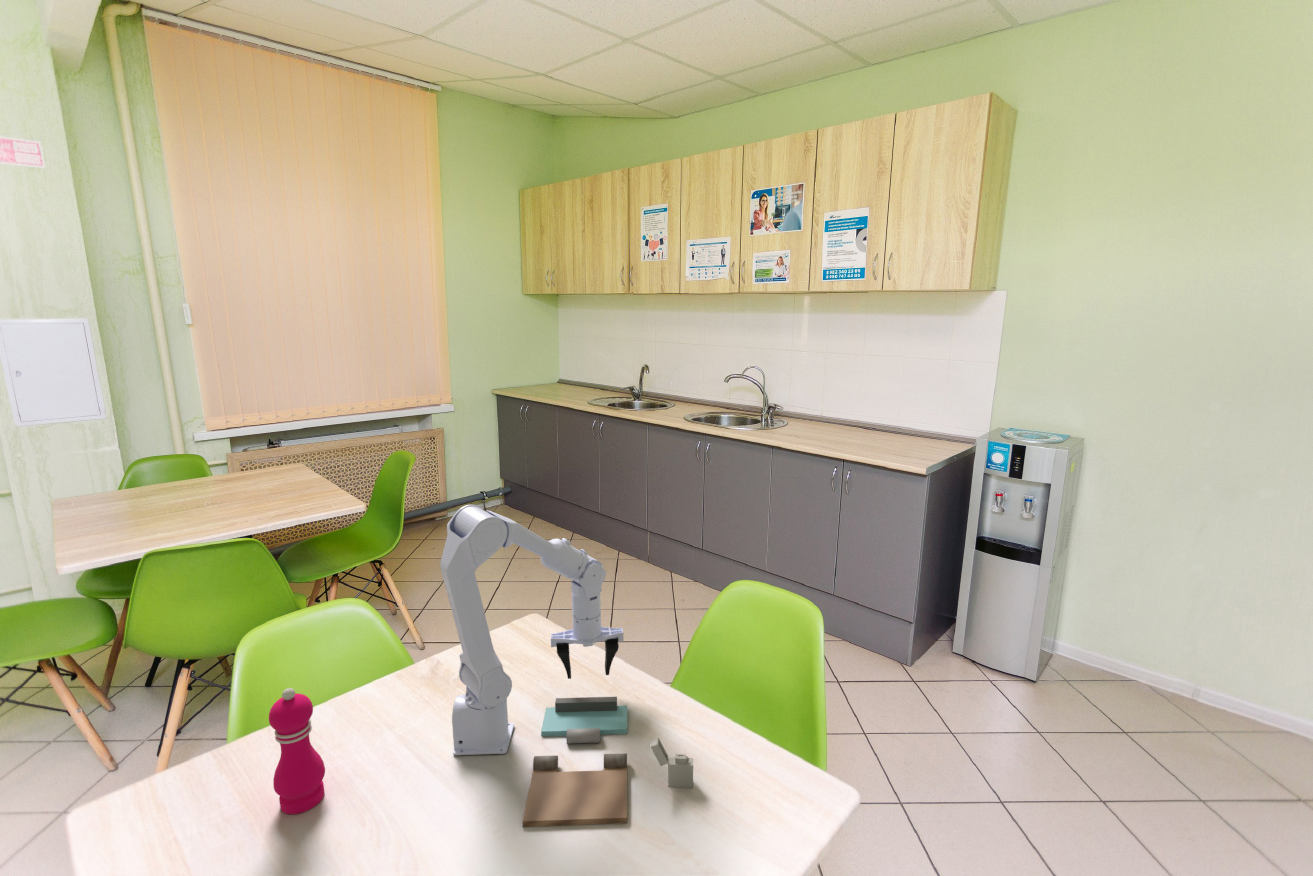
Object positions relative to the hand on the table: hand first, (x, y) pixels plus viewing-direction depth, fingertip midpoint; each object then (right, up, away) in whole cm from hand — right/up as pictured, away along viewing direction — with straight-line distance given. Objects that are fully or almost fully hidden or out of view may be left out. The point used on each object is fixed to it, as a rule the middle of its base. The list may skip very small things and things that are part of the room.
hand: (588, 674), depth 127 cm
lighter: (+16, -10, -23) cm, 30 cm away
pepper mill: (-43, -11, -26) cm, 52 cm away
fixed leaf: (+1, -10, -25) cm, 27 cm away
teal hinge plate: (0, -7, -9) cm, 11 cm away
